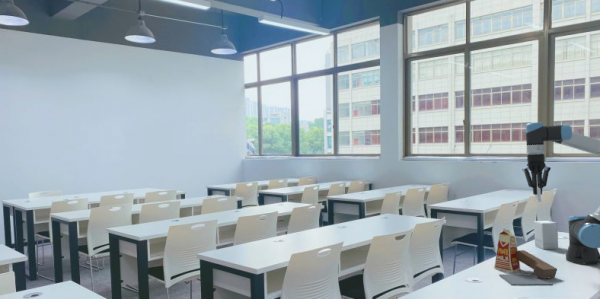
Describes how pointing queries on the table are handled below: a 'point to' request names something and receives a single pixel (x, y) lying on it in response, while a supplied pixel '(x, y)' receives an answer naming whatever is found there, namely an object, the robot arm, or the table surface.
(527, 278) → the mat
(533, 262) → the wooden block
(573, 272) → the table surface
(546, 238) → the supplement box
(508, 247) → the milk carton
